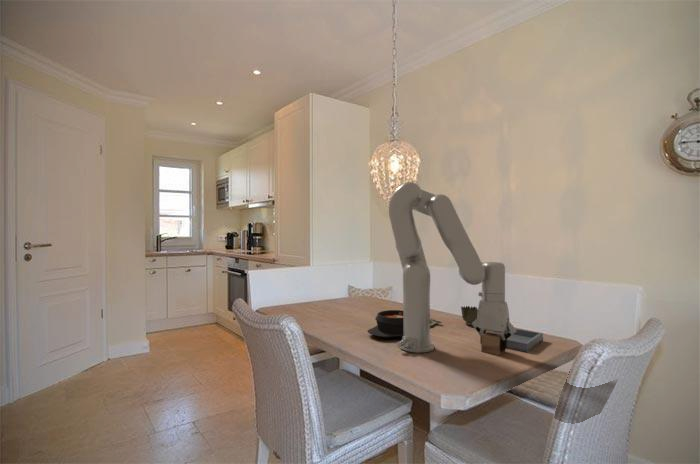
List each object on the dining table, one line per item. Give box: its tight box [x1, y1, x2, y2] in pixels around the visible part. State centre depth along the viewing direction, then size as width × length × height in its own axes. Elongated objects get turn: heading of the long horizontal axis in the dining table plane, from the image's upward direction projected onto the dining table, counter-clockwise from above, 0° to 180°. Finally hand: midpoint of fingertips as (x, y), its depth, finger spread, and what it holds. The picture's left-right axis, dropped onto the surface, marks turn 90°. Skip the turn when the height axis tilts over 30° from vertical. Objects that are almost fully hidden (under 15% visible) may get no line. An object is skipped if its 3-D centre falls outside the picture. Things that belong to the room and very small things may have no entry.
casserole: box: [367, 309, 403, 339], centre depth 150 cm, size 25×19×8 cm
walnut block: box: [480, 330, 506, 356], centre depth 128 cm, size 6×6×6 cm
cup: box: [460, 305, 478, 327], centre depth 163 cm, size 8×7×8 cm
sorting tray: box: [491, 327, 544, 353], centre depth 139 cm, size 18×16×3 cm
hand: (493, 347), depth 128 cm, fingers closed on walnut block, 6 cm apart
